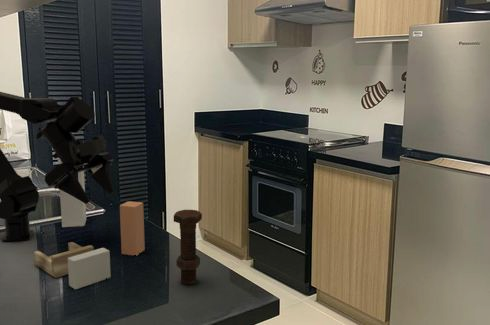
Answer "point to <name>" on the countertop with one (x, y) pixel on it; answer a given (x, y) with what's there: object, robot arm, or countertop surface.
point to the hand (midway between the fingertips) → (100, 197)
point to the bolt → (188, 244)
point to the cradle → (59, 259)
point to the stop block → (89, 268)
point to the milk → (73, 206)
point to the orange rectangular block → (132, 228)
